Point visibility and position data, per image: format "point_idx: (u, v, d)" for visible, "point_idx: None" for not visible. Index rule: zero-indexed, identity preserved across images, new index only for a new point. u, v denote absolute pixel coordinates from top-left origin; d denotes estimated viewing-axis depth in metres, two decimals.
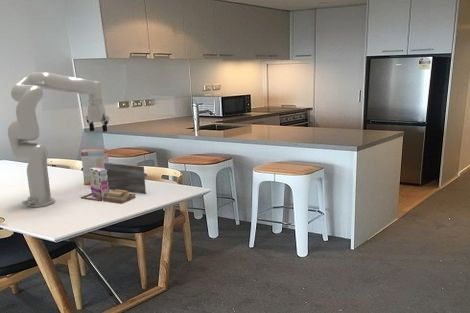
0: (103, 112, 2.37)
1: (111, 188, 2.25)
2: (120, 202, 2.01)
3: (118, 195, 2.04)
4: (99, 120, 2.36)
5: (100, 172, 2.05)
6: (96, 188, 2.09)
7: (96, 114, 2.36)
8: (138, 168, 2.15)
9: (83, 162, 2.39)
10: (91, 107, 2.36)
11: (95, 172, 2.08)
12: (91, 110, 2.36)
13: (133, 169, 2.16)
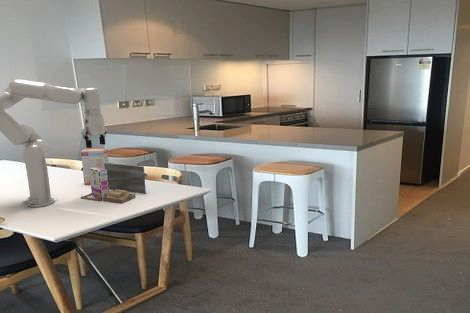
0: None
1: (111, 188, 2.25)
2: (120, 202, 2.01)
3: (117, 195, 2.04)
4: (104, 131, 2.09)
5: (100, 172, 2.05)
6: (96, 188, 2.09)
7: (101, 125, 2.06)
8: (138, 168, 2.15)
9: (83, 162, 2.39)
10: (96, 118, 2.03)
11: (95, 172, 2.08)
12: (96, 121, 2.03)
13: (133, 169, 2.16)
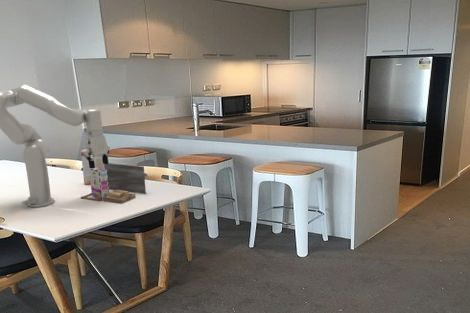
0: None
1: (111, 188, 2.25)
2: (120, 202, 2.01)
3: (118, 195, 2.03)
4: (106, 151, 2.10)
5: (100, 172, 2.05)
6: (96, 188, 2.09)
7: (103, 145, 2.08)
8: (138, 168, 2.15)
9: (83, 162, 2.39)
10: (98, 139, 2.05)
11: (95, 172, 2.08)
12: (98, 142, 2.05)
13: (133, 169, 2.16)
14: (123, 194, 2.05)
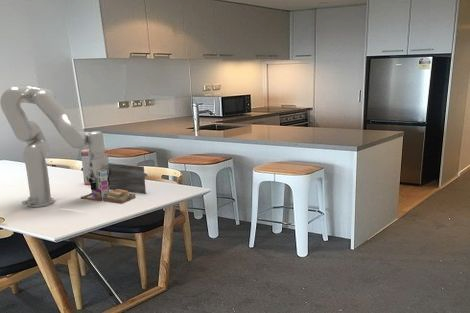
0: None
1: (111, 188, 2.25)
2: (120, 202, 2.01)
3: (117, 195, 2.03)
4: (108, 173, 2.13)
5: (100, 172, 2.05)
6: (96, 188, 2.09)
7: (105, 167, 2.11)
8: (138, 168, 2.15)
9: (83, 162, 2.39)
10: (100, 161, 2.07)
11: None
12: (100, 164, 2.07)
13: (133, 169, 2.16)
14: (123, 194, 2.05)
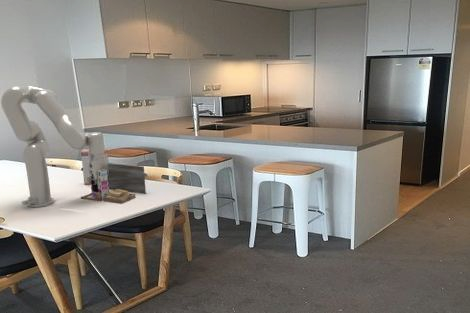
0: None
1: (111, 188, 2.25)
2: (120, 202, 2.01)
3: (117, 195, 2.04)
4: (108, 174, 2.13)
5: (100, 172, 2.05)
6: None
7: (105, 168, 2.11)
8: (138, 168, 2.15)
9: (83, 162, 2.39)
10: (100, 162, 2.07)
11: None
12: (100, 165, 2.07)
13: (133, 169, 2.16)
14: (123, 194, 2.05)
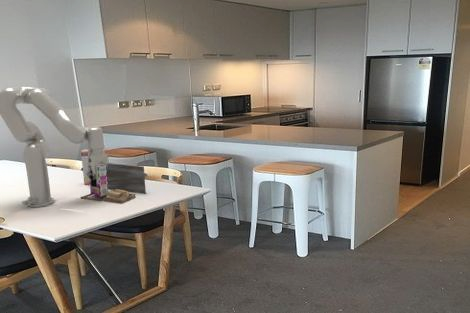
0: None
1: (111, 188, 2.25)
2: (120, 202, 2.01)
3: (116, 195, 2.03)
4: None
5: (99, 167, 2.05)
6: None
7: (104, 163, 2.10)
8: (138, 168, 2.15)
9: (83, 162, 2.39)
10: (99, 157, 2.06)
11: None
12: (99, 160, 2.07)
13: (133, 169, 2.16)
14: (122, 194, 2.05)
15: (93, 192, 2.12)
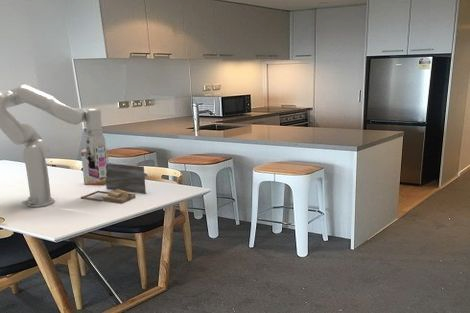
0: None
1: (111, 188, 2.25)
2: (120, 202, 2.01)
3: (115, 195, 2.03)
4: (105, 151, 2.10)
5: (97, 148, 2.03)
6: None
7: (102, 145, 2.08)
8: (138, 168, 2.15)
9: (83, 162, 2.39)
10: (97, 138, 2.04)
11: None
12: (97, 141, 2.05)
13: (133, 169, 2.16)
14: (121, 194, 2.05)
15: (91, 174, 2.10)
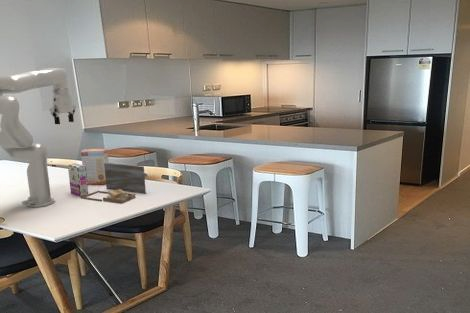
0: None
1: (111, 188, 2.25)
2: (120, 202, 2.01)
3: (113, 195, 2.03)
4: (72, 109, 2.25)
5: (79, 168, 2.15)
6: (75, 183, 2.19)
7: (69, 103, 2.23)
8: (138, 168, 2.15)
9: (83, 162, 2.39)
10: (63, 97, 2.19)
11: (73, 168, 2.18)
12: (64, 100, 2.20)
13: (133, 169, 2.16)
14: (119, 194, 2.04)
15: (73, 192, 2.22)
